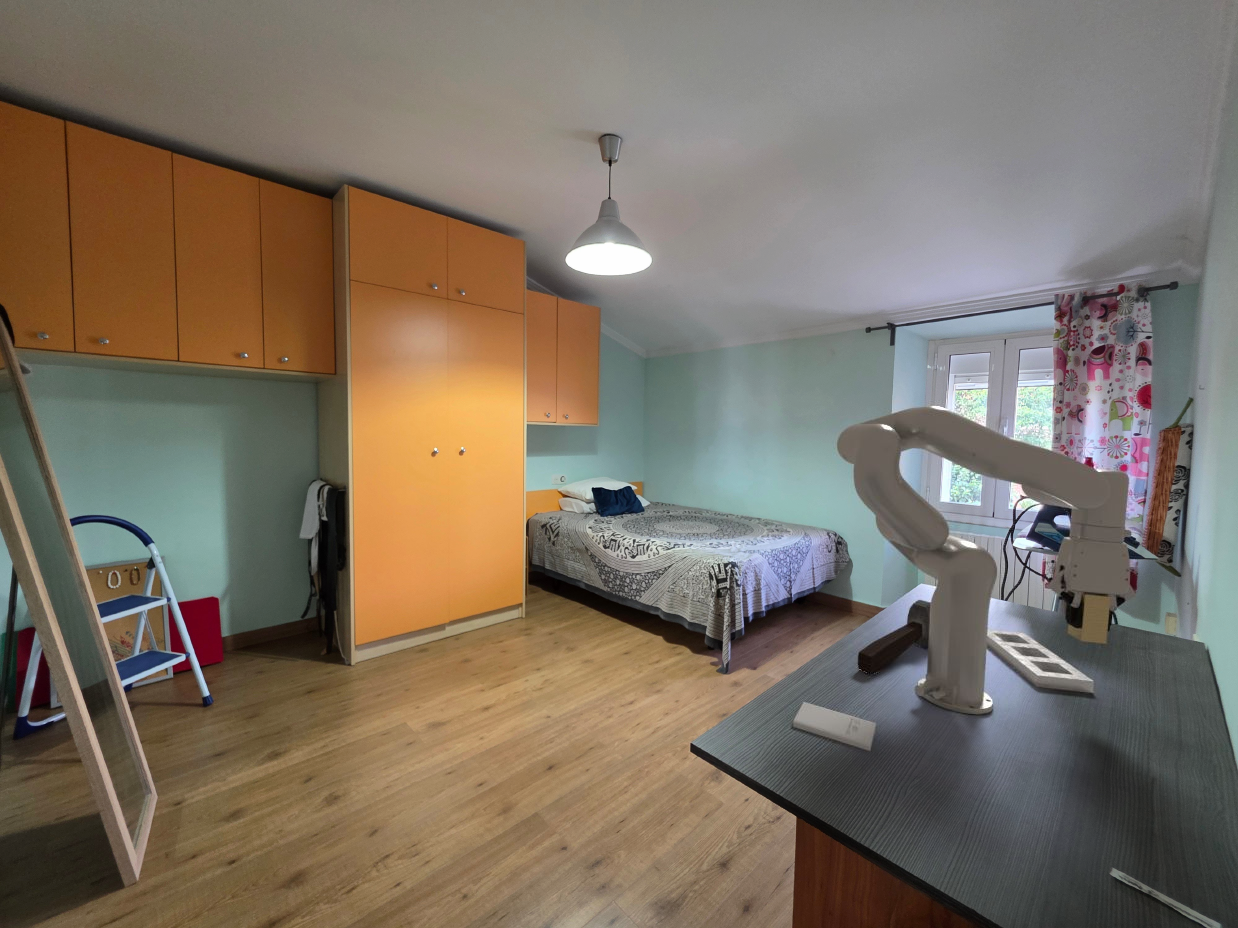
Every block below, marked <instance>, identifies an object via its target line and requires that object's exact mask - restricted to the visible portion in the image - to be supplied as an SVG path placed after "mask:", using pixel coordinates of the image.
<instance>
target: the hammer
mask: <svg viewBox="0 0 1238 928" xmlns="http://www.w3.org/2000/svg"><path fill="white" fill-rule="evenodd" d="M930 605H931V601H930V602H929V601H925V600H923V599H918V600H916V601H915V602H914V603H912V604H911V606H910V607H909V609H908V614H907V618H906V619H907V620H906V624H904V625H902V626H900V627H899V628H897V629H895V630H893V631H891V632H889V633H888V634H885V635H883V636H881V637H880V638H878V639H876V640H874V641H872V642H871V643H870V644H868V645H867V646H865V647H863V649H861V650H860V651H858V654H857V668H858V670H859V669H861V670H862V671H865V672H867V673H869V674H868V675H870V674H874V673H876V672H878V671H880V670H881V671H883V670H884V669H886V668H888V667H889V666H890V665H891V664H892V663H893V662H894V661H895V660H896V659H898V658H899V657H900V656H901V655H902V654H903V653H904V652H905V651H907V650H909V648H910V647H911V646H912V645H913V644H914V643H915V644H914V645H916V644H917V645H916V646H919V645H920V647H922V646H923V647H922V648H925V647H926V648H925V649H928V642H929V624H930ZM882 669H883V670H882ZM862 671H861V672H862ZM881 671H880V672H881ZM865 672H864V673H865ZM867 673H866V674H867ZM878 673H879V672H878ZM876 674H877V673H876ZM874 675H875V674H874Z"/></svg>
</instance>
